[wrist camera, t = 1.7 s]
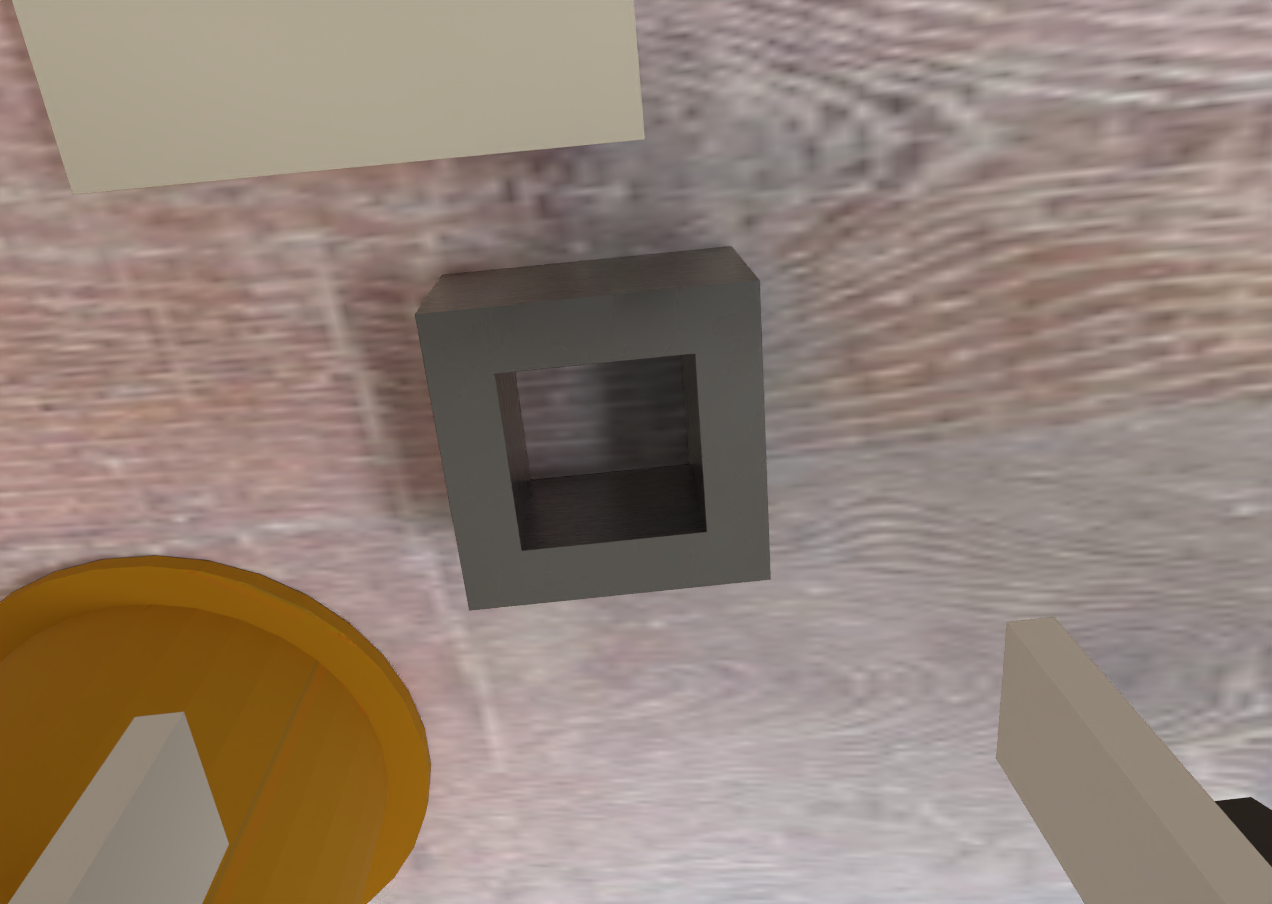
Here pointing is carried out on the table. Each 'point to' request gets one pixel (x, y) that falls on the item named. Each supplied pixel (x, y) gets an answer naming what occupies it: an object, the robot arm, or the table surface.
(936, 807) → the table surface
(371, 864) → the spool
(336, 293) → the table surface
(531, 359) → the steel link
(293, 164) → the keeper board
